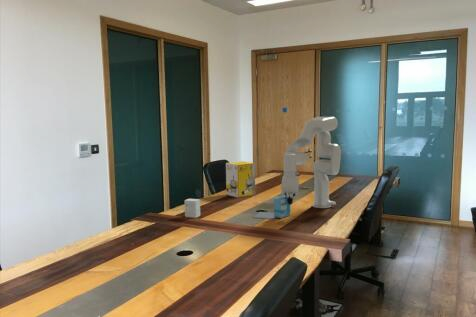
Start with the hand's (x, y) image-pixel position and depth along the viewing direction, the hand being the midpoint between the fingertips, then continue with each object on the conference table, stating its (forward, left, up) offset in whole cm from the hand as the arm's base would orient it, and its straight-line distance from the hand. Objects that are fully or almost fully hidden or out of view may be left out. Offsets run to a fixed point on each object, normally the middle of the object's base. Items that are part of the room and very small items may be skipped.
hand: (290, 203), depth 240 cm
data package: (+5, 0, -8) cm, 10 cm away
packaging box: (+50, -57, -8) cm, 77 cm away
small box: (+58, +14, -8) cm, 61 cm away
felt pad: (+15, 0, -8) cm, 17 cm away
